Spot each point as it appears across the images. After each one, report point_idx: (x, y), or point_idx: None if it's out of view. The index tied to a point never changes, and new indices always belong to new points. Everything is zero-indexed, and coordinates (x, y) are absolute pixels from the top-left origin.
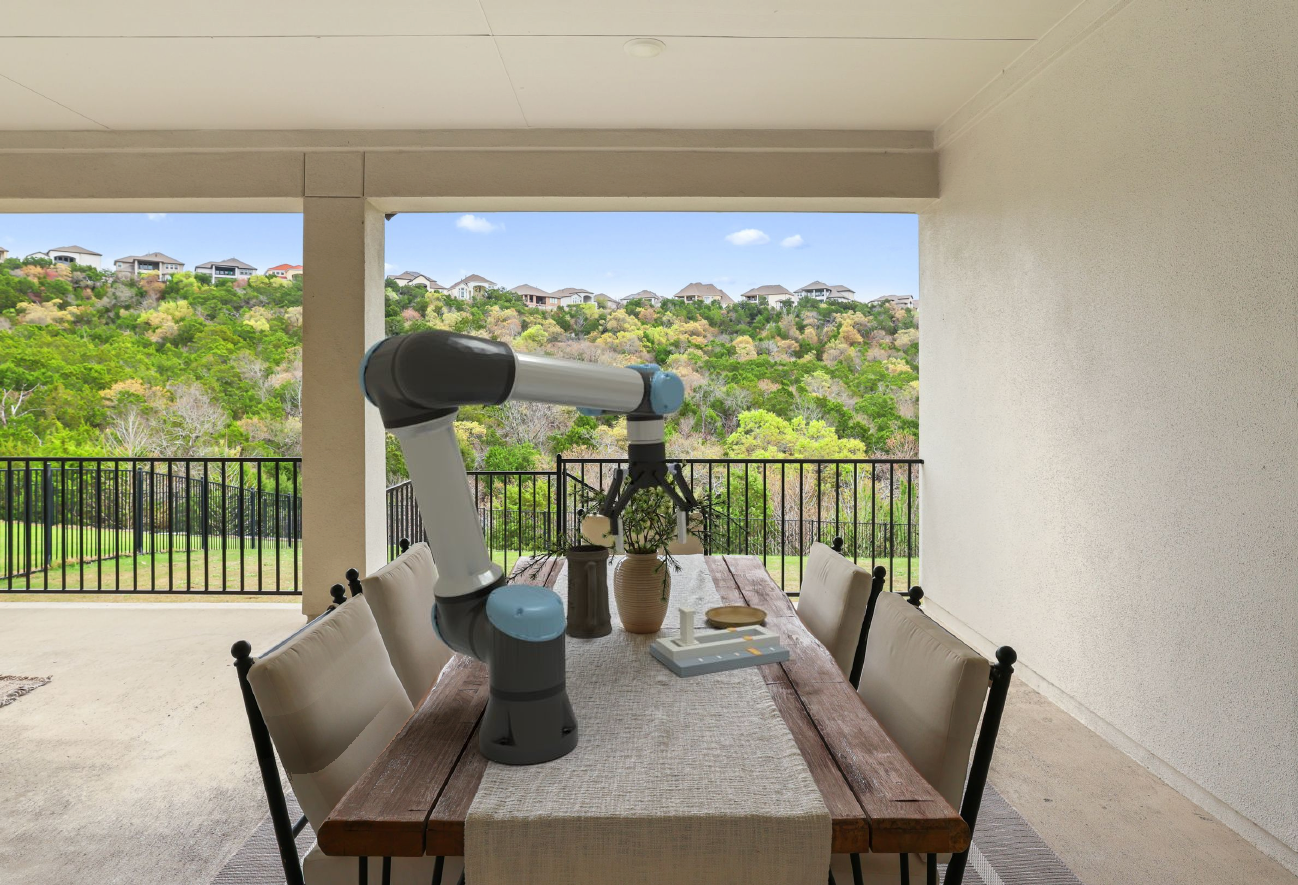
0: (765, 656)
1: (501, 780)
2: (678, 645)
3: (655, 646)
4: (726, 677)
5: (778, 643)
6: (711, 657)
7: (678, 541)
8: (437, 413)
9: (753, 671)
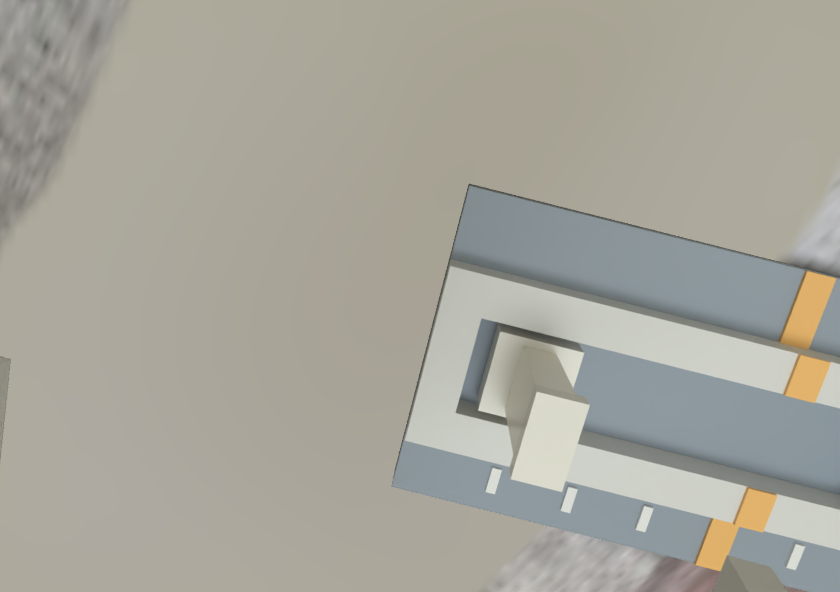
0: None
1: None
2: (487, 371)
3: (467, 231)
4: (516, 556)
5: None
6: None
7: (723, 571)
8: None
9: (628, 572)
